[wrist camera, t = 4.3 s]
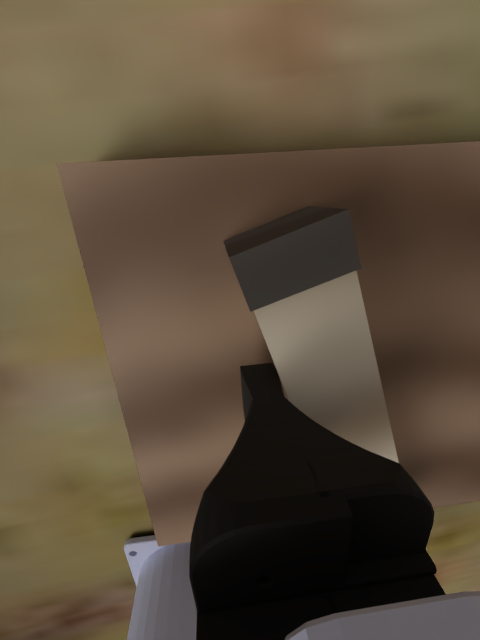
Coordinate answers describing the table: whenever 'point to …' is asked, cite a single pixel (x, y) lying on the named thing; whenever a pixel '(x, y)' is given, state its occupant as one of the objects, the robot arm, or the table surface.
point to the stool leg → (316, 320)
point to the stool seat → (241, 325)
